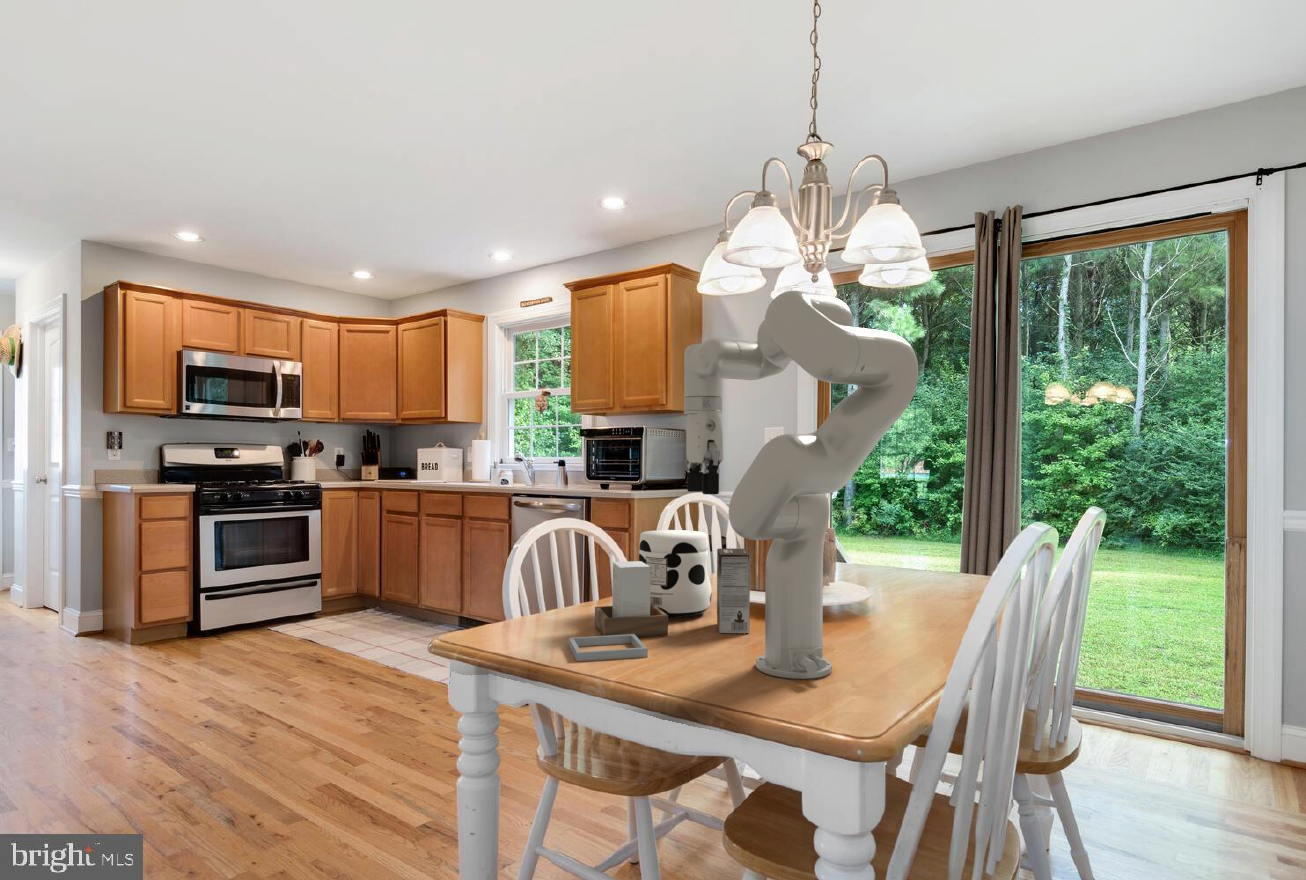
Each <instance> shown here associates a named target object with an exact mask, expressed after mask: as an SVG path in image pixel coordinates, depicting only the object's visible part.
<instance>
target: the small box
mask: <svg viewBox="0 0 1306 880" xmlns="http://www.w3.org/2000/svg"><path fill="white" fill-rule="evenodd" d="M611 595H612V605H611V606H612V618H616V617H635V616H650V566H648V565H646V564H645V563H643V562H642V561H639V560H638V561H637V560H635V561H634V560H633V561H613V562H612V594H611Z"/></svg>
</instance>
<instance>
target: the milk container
mask: <svg viewBox="0 0 1306 880" xmlns="http://www.w3.org/2000/svg"><path fill="white" fill-rule="evenodd" d="M708 541H709V540H708V534H707V533H706V532H703V531H697V530H689V529H688V530H686V529H684V530H683V529H658V530H647V531H642V532H640V535H639V551H638V561H642V562H643V563H645V564H646V565H648V566H650V604H654V605H655V606H657V607H658V608H659V609H660V610H662V611H663V612H664V613H665V614H667V615H668V618H685V617H691V616H696V615H699V614H703V613H705V612H706V611H707V610H709V608H710V606H711V603H712V593H713V592H712V591H713V590H712V584H711V581H710V576H709V573H708V572H709V571H708V561H709V559H708V558H709V552H708V550H709V542H708Z"/></svg>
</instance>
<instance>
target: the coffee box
mask: <svg viewBox="0 0 1306 880" xmlns="http://www.w3.org/2000/svg"><path fill="white" fill-rule="evenodd" d="M716 551H717V552H716V622H717V623H716V624H717V628H718V633H719V634H720V633H744V634H743V635H746V634H745V633H751V632H750V620H751V618H750V617H751V616H750V615H751V614H750V608H751V607H750V606H751V603H750V601H751V599H750V597H751V594H750V593H751V555H750V553H749V551H748V549H747V548H717V549H716Z"/></svg>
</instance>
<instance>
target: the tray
mask: <svg viewBox="0 0 1306 880" xmlns="http://www.w3.org/2000/svg"><path fill="white" fill-rule="evenodd" d="M623 644H631V645H632V646H633V647H629V648H628V647H627V648H611V649H597V650H594V649H593V650H582V651H581V649H580V647H591V646H592V647H593V646H604V645H605V646H607V645H608V646H609V645H623ZM568 648H569V649H570V651H571V653H572V654H573V657H574V658H575V660H576V662H588V661H589V662H590V661H592V662H593V661H602V660H603V661H605V660H606V661H607V660H619V659H620V660H621V659H634V658H636V659H637V658H648V656H649V655H648V653H649V650H648V647H647V646H646V645H645V644H644V643H643V642H642V641H641V640H640V639H639V638H638V637H637V636H636V635H635V634H627V635H609V636H602V635H596V636H595V635H593V636H577V637H568Z"/></svg>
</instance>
